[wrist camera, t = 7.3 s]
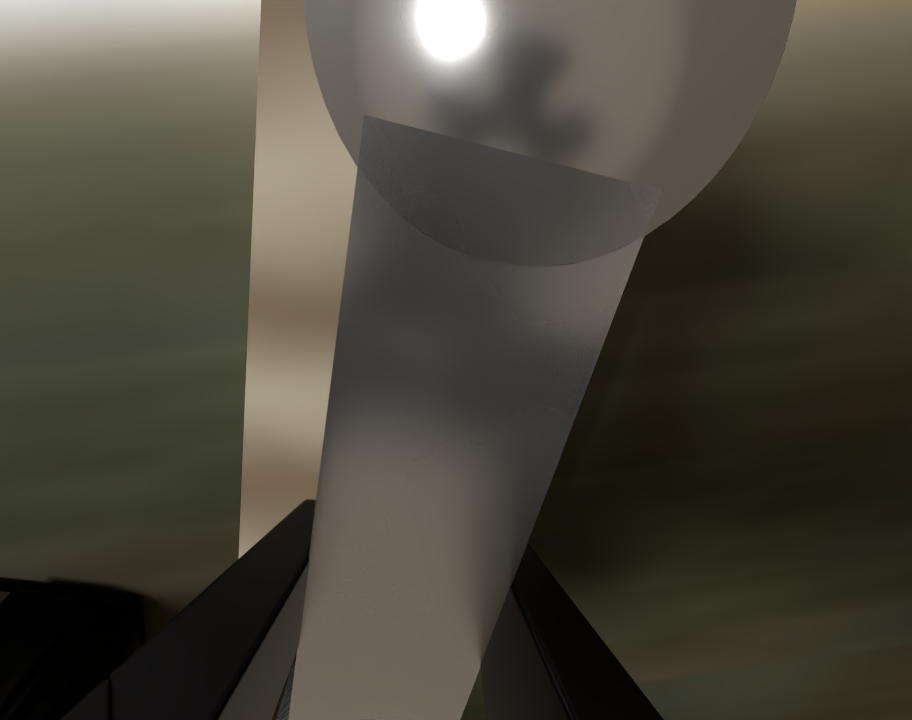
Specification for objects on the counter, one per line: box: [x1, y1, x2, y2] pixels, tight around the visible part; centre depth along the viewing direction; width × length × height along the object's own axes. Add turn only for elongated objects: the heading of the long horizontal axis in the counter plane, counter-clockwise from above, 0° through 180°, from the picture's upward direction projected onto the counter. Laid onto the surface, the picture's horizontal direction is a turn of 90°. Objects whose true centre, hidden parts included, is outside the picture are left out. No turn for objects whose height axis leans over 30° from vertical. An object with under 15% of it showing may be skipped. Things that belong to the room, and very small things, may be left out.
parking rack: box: [239, 0, 358, 558], centre depth 13 cm, size 20×11×5 cm, turn 167°
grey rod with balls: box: [276, 0, 796, 720], centre depth 8 cm, size 18×4×3 cm, turn 167°
